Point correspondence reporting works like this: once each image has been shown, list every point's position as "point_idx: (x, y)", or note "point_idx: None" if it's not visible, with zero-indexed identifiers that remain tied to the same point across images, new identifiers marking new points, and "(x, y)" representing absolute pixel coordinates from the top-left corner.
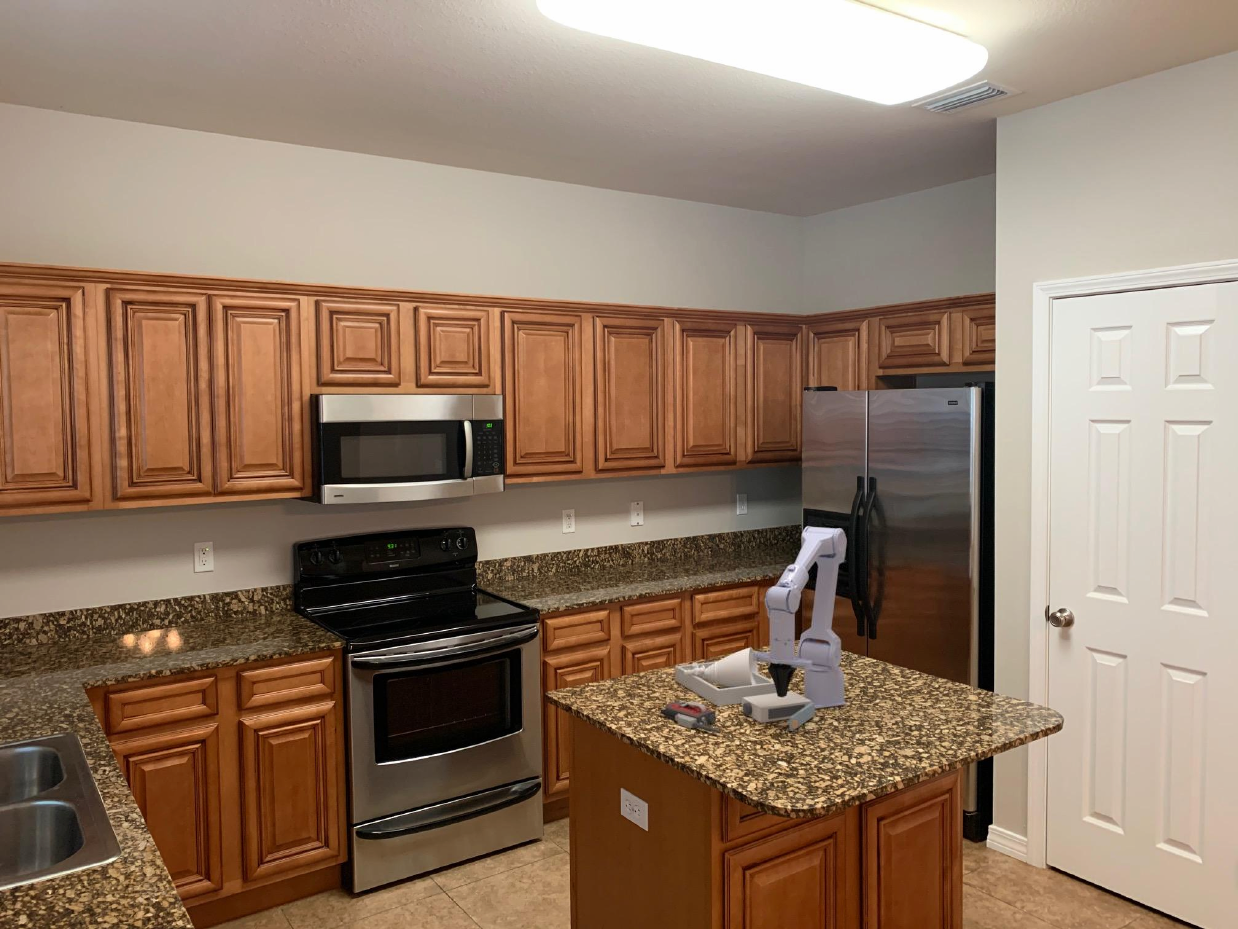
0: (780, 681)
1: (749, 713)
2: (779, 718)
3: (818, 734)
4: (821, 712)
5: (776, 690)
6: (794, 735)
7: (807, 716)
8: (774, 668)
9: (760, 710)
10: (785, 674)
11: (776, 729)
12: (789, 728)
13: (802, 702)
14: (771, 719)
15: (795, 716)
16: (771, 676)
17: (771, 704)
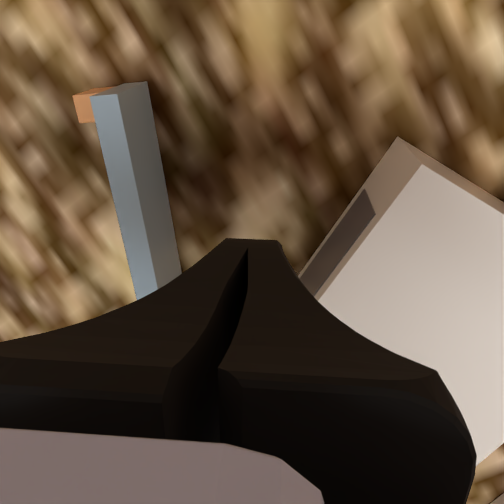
0: (194, 301)
1: None
2: (317, 253)
3: (3, 154)
4: None
5: (280, 255)
6: (90, 41)
7: None
8: (266, 425)
9: (422, 161)
10: (13, 345)
11: (247, 79)
12: (142, 82)
13: None
14: (351, 207)
15: (103, 152)
16: (349, 327)
17: (382, 284)
